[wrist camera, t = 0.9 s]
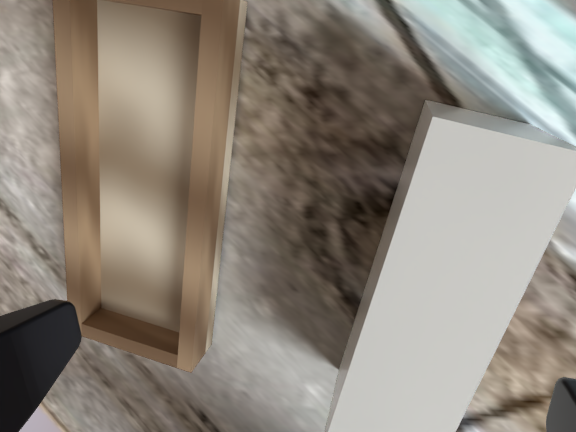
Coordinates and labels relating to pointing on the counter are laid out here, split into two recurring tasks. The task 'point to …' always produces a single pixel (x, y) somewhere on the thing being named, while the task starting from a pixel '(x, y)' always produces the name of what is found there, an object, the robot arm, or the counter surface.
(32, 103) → the counter surface
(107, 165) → the brown rectangular tray
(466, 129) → the white rectangular block
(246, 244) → the counter surface
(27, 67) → the counter surface
